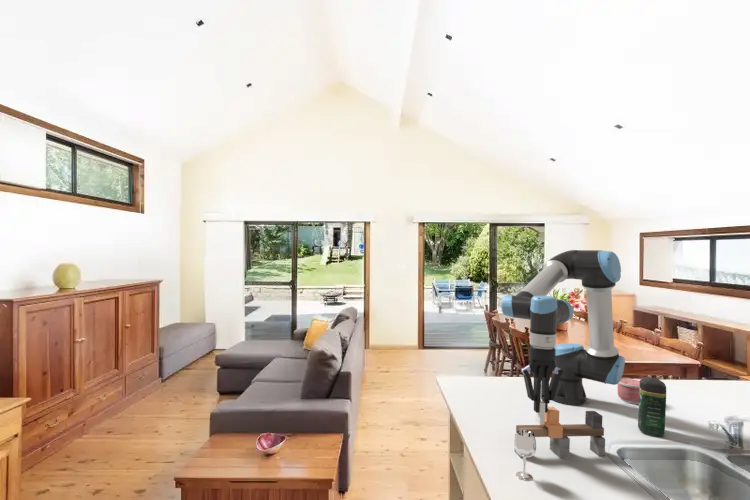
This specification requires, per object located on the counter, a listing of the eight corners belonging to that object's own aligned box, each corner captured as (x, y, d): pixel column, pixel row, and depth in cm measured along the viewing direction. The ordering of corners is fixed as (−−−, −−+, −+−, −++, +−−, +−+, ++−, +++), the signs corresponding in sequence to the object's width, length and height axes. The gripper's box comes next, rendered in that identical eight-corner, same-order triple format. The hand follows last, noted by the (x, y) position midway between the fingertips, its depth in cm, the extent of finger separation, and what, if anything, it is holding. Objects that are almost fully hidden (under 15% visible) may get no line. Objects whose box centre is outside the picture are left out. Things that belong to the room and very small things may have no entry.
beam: (513, 449, 132) (514, 410, 132) (594, 448, 135) (595, 409, 135) (521, 459, 126) (523, 418, 126) (606, 457, 129) (607, 417, 129)
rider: (539, 429, 133) (540, 404, 133) (551, 428, 134) (552, 404, 134) (550, 438, 127) (550, 413, 127) (562, 438, 127) (563, 412, 127)
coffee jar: (666, 439, 142) (668, 384, 142) (639, 434, 146) (640, 380, 146) (662, 428, 151) (664, 377, 151) (636, 423, 155) (638, 373, 155)
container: (629, 395, 185) (629, 377, 185) (651, 404, 176) (651, 385, 175) (610, 397, 182) (611, 379, 182) (632, 406, 172) (632, 387, 172)
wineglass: (509, 470, 120) (511, 428, 120) (529, 470, 120) (530, 428, 120) (518, 482, 114) (519, 438, 114) (538, 481, 114) (540, 438, 114)
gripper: (527, 349, 125) (525, 428, 126) (569, 349, 127) (566, 427, 127) (516, 343, 133) (514, 417, 133) (556, 343, 134) (553, 417, 134)
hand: (540, 422), depth 130 cm, fingers closed
